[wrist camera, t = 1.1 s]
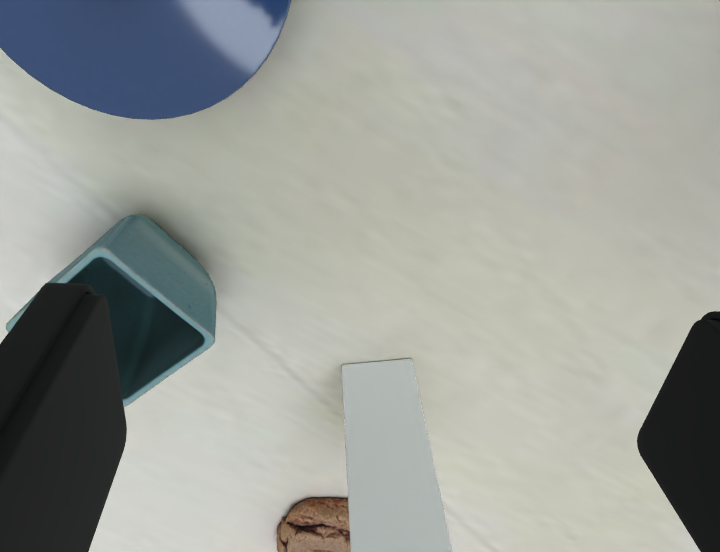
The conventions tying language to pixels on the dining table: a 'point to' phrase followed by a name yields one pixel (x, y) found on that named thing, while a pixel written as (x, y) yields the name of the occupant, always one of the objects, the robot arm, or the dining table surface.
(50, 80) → the lid
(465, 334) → the dining table surface
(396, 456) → the milk
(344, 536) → the cookie
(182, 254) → the flower pot
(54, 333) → the robot arm
